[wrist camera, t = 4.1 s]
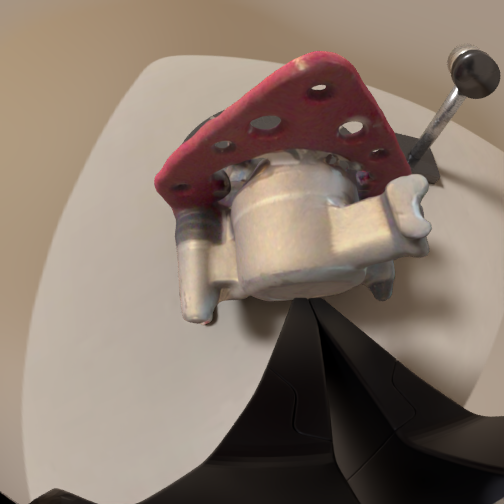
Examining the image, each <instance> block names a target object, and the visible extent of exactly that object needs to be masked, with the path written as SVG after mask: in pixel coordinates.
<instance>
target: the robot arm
mask: <svg viewBox="0 0 504 504" xmlns="http://www.w3.org/2000/svg"><path fill="white" fill-rule="evenodd" d="M0 504H18V503H17V502H15V501H14V500H12V499H11V498H10V497H8V496H7V495H5V494H4V493H2V492H1V491H0ZM29 504H97V503H94V502H92V501H89V500H87V499H84V498H82V497H79V496H77V495H74V494H72V493H70V492H67V491H64V490H61V489H58V488H54V489H52V490H50V491H48V492H47V493H45V494H43V495H41V496H39V497H38V498H36V499H34V500H33V501H32V502H31V503H29ZM136 504H504V416H499V417H486V416H480V415H476V414H474V413H472V412H470V411H468V410H466V409H464V408H463V407H461V406H460V405H459V404H457V403H456V402H454V401H453V400H451V399H450V398H448V397H447V396H445V395H444V394H442V393H441V392H439V391H438V390H436V389H435V388H433V387H432V386H430V385H429V384H428V383H426V382H425V381H423V380H422V379H421V378H419V377H418V376H417V375H415V374H414V373H413V372H412V371H410V370H409V369H408V368H407V367H405V366H404V365H403V364H402V363H401V362H399V361H396V358H394V357H393V356H392V355H391V354H390V353H388V352H387V351H386V350H385V349H383V348H382V347H381V346H380V345H379V344H377V343H376V342H375V341H374V340H373V339H371V338H370V337H369V336H368V335H366V334H365V333H364V332H363V331H362V330H360V329H359V328H358V327H357V326H355V325H354V324H353V323H352V322H351V321H349V320H348V319H347V318H346V317H344V316H343V315H342V314H341V313H340V312H338V311H337V310H336V309H335V308H333V307H332V306H331V305H330V304H328V303H327V302H326V301H325V300H324V299H322V298H308V299H307V298H297V297H296V298H294V299H293V301H292V304H291V306H290V309H289V312H288V314H287V317H286V320H285V322H284V325H283V327H282V330H281V332H280V335H279V338H278V340H277V343H276V345H275V348H274V350H273V352H272V355H271V357H270V360H269V362H268V365H267V367H266V369H265V371H264V374H263V376H262V379H261V381H260V383H259V385H258V387H257V389H256V391H255V393H254V395H253V396H252V398H251V399H250V401H249V403H248V404H247V406H246V408H245V409H244V411H243V412H242V413H241V415H240V416H239V418H238V419H237V421H236V422H235V423H234V425H233V426H232V428H231V429H230V430H229V432H228V433H227V435H226V436H225V437H224V439H223V440H222V441H221V443H220V444H219V445H218V447H217V448H216V449H215V450H214V451H213V453H212V454H211V455H210V456H209V457H208V458H207V459H206V460H205V461H204V462H203V463H202V464H201V465H199V466H198V467H196V468H195V469H193V470H192V471H191V472H189V473H188V474H186V475H185V476H183V477H181V478H180V479H178V480H177V481H175V482H174V483H172V484H170V485H169V486H167V487H166V488H164V489H162V490H161V491H159V492H157V493H156V494H154V495H152V496H150V497H149V498H147V499H145V500H143V501H141V502H139V503H136Z"/></svg>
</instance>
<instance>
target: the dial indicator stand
mask: <svg viewBox="0 0 504 504" xmlns="http://www.w3.org/2000/svg"><path fill="white" fill-rule="evenodd" d="M447 63H448V64H447V65H448V69H449V71H450V73H451V77H452V80H453V82H454V84H455V85H454V87H453V89H452V90H451V92H450V94H449V95H448V97H447V98H446V100H445V101H444V103H443V104H442V106H441V107H440V109H439V111H438V112H437V113H436V115H435V116H434V118H433V119H432V121H431V122H430V124H429V125H428V127H427V128H426V130H425V131H424V132H423V134H422V135H421V137H420V138H419V139H418V138H414V137H410V136H406V135H402V134H397V133H395V135H396V139H397V141H398V143H399V145H400V148H401V151H402V152H403V154H404V156H405V158H406V160H407V162H408V164H409V165H410V168H411V173H412V174H420V175H422V176H424V177H425V178H426V179H427V181H428V183H432V184H434V183H435V182H436V181H437V180H438V179H439V178H440V174H439V171H438V168H437V166H436V163H435V160H434V157H433V154H432V152H431V149H430V146H431V145H432V144H433V143H434V141H435V140H436V139H437V137H438V136H439V135H440V133H441V132H442V131H443V129H444V128H445V127H446V125H447V124H448V122H449V121H450V120H451V118H452V117H453V116H454V114H455V112H456V111H457V110H458V108H459V107H460V106H461V104H462V103H463V101H464V100H465V98H466V97H468V98H473V99H479V98H484V97H486V96H488V95H490V94H491V93H492V92H494V91H495V89H496V88H497V86H498V84H499V81H500V70H499V67H498V65H497V64H496V63H495V61H494V60H493V59H492V58H491V57H490V56H489V55H488V54H487V53H485V52H483V51H481V50H480V49H479V48H478V47H476V46H474V45H471V44H464V45H460V46H458V47H456V48H455V49H454V50H452V52H451V53H450V55H449V57H448V61H447Z"/></svg>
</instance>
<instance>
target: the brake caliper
mask: <svg viewBox="0 0 504 504" xmlns="http://www.w3.org/2000/svg"><path fill="white" fill-rule="evenodd" d="M317 85H326V88H325V89H323V90H313V89H311V88H312V87H314V86H317ZM263 116H277V117H279V118H280V119H281V121H280V123H279V124H278V125H277V126H276V127H273V128H270V129H258V128H256V127H253V126H252V125H251V121H252V120H255V119H257V118H260V117H263ZM351 121H357V122H361V123H362V124H363V128H362V129H361V130H360V131H358V132H356V133H353V134H346V135H343V134H340V129H339V127H340V126H341V125H343V124H344V123H347V122H351ZM222 141H227V142H228V146H227V147H225V148H219V147H216V146H215V145H214V144H216V143H218V142H222ZM374 150H378V151H376V152H373V151H374ZM332 155H333V156H334V157H335V158H336V162H335V163H334V164H329V163H330V161H331V159H332ZM340 160H342V161H346V162H347V163H348V167H347V168H346V170H345V169H343V168H342V167H341V166H340V165H339V163H340ZM226 167H227V169H226V171H224V170H223V168H226ZM366 171H368V172H366ZM154 184H155V188H156V190H157V192H158V193H159V194H160V195H161V196H162V197H163V199H164V200H165V201H166V202H167V203H168V204H169V205H170V207H171V208H172V210H173V213H174V216H175V218H176V231H175V240H176V246H177V258H178V277H179V288H180V300H181V309H182V315H183V318H184V319H185V320H186V321H188V322H192V323H197V324H198V323H200V324H202V325H205V324H208V323H210V322H211V321H212V318H213V314H212V313H213V311H214V308H215V307H216V305H217V304H218V303H219V302H221V301H225V300H241V299H245V298H247V297H249V296H253V297H256V298H258V299H260V300H265V301H285V300H293V299H294V298H296V297H297V298H307V299H308V298H316V297H323V296H331V295H335V294H340V293H343V292H345V291H347V290H349V289H351V288H353V287H356V286H358V285H359V284H364V285H365V286H367V287H368V288H369V289H370V290H371V291H372V293H373V294H374V297H375V298H376V299H378V300H379V301H385V300H387V299H389V298H390V296H391V295H392V287H393V281H394V278H395V269H394V262H393V260H395V259H398V258H401V257H407V256H412V257H424V256H426V255H427V254H428V253H429V245H428V241H427V237H426V236H427V235H428V234H429V233H430V231H431V229H432V227H431V223H430V222H428V221H427V220H425V219H424V212H423V208H422V206H421V205H420V203H421V201H422V198H423V197H424V195H425V194H426V193H427V191H428V188H429V184H428V181H427V179H426V178H425V177H424V176H422V175H420V174H412V173H411V168H410V165H409V164H408V162H407V160H406V158H405V156H404V154H403V152H402V151H401V148H400V145H399V143H398V141H397V139H396V135H395V133H394V131H393V130H392V128H391V127H390V125H389V123H388V121H387V120H386V117H385V116H384V114H383V111H382V110H381V109H380V107H379V106H378V104H377V102H376V100H375V99H374V97H373V96H372V94H371V93H370V91H369V90H368V88H367V87H366V86H365V84H364V83H363V81H362V80H361V78H360V75H359V73H358V72H357V70H356V69H355V67H354V66H353V65H352V64H351V63H350V62H349V61H347V60H346V59H345V58H344V57H342V56H340V55H338V54H336V53H332V52H325V51H315V52H311V53H308V54H305V55H303V56H301V57H298V58H296V59H294V60H292V61H290V62H289V63H287V64H286V65H284V66H283V67H281V68H280V69H278V70H276V71H275V72H274V73H272V74H271V75H270V76H268V77H267V78H265V79H264V80H263V81H262V82H261V83H259V84H258V85H257V86H256V87H254V88H253V89H251V90H250V91H249V92H247V93H246V94H245V95H244V96H243V97H242V98H241V99H239V100H238V101H237V102H235V103H234V104H232V105H231V106H229V107H228V108H227V109H226V110H224V111H223V112H222V113H221V114H220V115H219V116H217V117H216V118H214V119H211V120H209V121H208V122H207V123H205V124H204V125H203V126H202V127H201V128H200V129H199V130H198V131H197V132H196V133H195V135H194V136H193V137H191V138H190V139H189V140H188V141H186V142H185V143H183V144H182V145H181V146H180V147H179V148H178V149H177V150H176V151H175V152H174V153H173V154H172V155H171V156H170V157H169V158H168V159H167V161H166V162H165V164H164V166H163V168H162V169H161V171H160V172H159V173H158V174H157V175H156V176H155V180H154Z"/></svg>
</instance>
